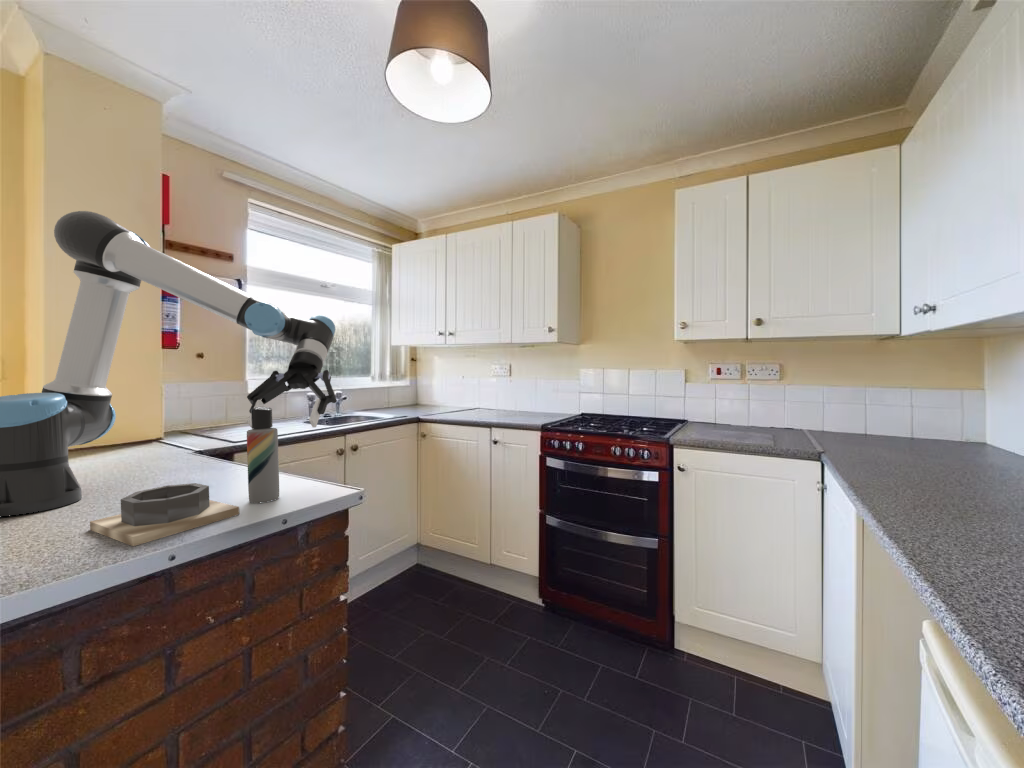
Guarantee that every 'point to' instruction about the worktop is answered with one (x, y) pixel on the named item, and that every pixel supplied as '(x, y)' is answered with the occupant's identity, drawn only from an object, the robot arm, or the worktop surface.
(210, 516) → the holder
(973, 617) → the worktop surface
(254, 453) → the lotion bottle
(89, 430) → the robot arm
